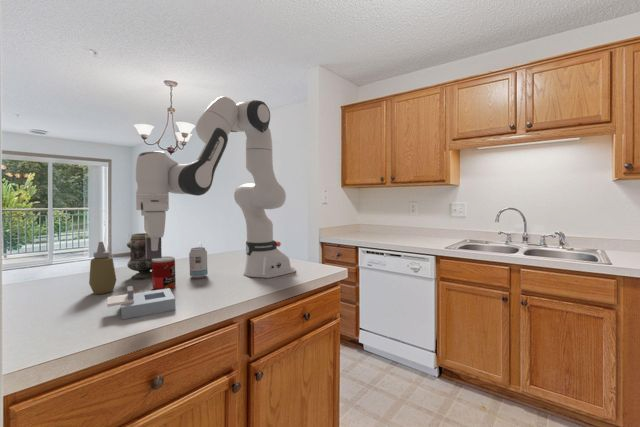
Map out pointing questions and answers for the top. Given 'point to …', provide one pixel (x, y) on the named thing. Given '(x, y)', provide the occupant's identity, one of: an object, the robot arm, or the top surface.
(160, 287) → the canned food
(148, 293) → the socket block
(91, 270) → the squeeze bottle
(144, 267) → the apothecary jar
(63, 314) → the top surface
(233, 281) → the top surface
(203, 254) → the beverage can
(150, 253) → the plug
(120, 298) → the panel
